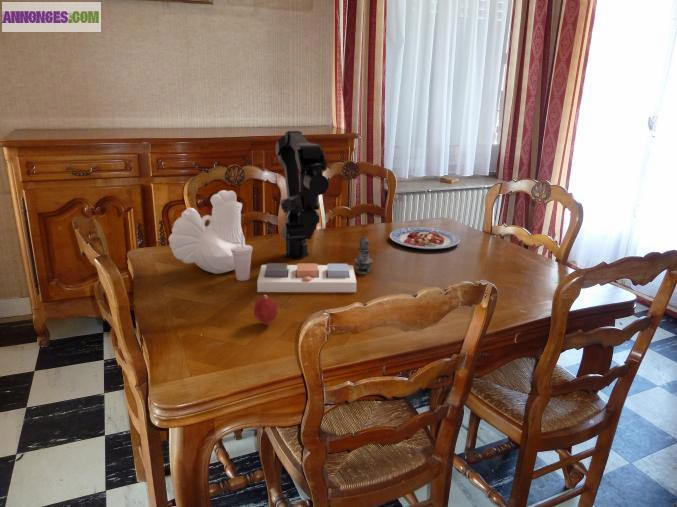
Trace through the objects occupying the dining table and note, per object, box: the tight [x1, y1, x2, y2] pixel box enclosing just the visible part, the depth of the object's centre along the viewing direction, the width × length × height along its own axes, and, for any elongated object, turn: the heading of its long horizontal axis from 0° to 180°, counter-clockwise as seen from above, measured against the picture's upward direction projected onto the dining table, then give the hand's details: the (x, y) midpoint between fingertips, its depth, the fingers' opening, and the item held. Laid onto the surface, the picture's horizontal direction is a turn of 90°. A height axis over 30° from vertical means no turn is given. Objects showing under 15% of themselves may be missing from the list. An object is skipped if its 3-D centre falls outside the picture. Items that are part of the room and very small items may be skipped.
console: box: [256, 264, 357, 293], centre depth 155 cm, size 28×14×4 cm, turn 93°
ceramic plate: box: [389, 226, 460, 250], centre depth 195 cm, size 26×26×3 cm
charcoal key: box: [265, 262, 288, 278], centre depth 154 cm, size 6×6×3 cm
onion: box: [253, 294, 279, 326], centre depth 128 cm, size 6×6×8 cm
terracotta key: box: [296, 262, 319, 278], centre depth 154 cm, size 6×6×3 cm
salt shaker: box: [354, 234, 374, 275], centre depth 163 cm, size 6×6×12 cm
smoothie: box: [231, 232, 254, 282], centre depth 155 cm, size 6×6×14 cm
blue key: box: [326, 263, 349, 278], centre depth 154 cm, size 6×6×3 cm
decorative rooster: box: [168, 189, 246, 275], centre depth 159 cm, size 25×16×25 cm, turn 125°
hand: (308, 237), depth 160 cm, fingers open, 2 cm apart
